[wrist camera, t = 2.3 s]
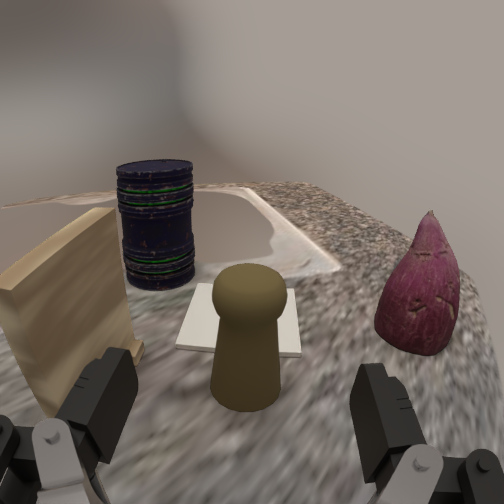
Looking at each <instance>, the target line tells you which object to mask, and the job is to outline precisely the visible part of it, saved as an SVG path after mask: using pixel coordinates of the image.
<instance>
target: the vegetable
mask: <svg viewBox="0 0 504 504" xmlns="http://www.w3.org/2000/svg"><path fill="white" fill-rule="evenodd" d="M459 294H460V275H459V268H458V264H457V260H456V258H455V256H454V253H453V251H452V249H451V247H450V245H449V243H448V241H447V239H446V237H445V235H444V233H443V230H442V228H441V226H440V224H439V222H438V220H437V219H436V218H435V217H434V214H433V211H432V210H429V211H428V213H427V214H426V215H425V216H424V217H423V219H422V220H421V222H420V224H419V226H418V229H417V232H416V234H415V238H414V240H413V242H412V244H411V246H410V248H409V250H408V252H407V253H406V254H405V256H404V257H403V259H402V260H401V261H400V263H399V264H398V265H397V267H396V268H395V270H394V271H393V272H392V274H391V275H390V277H389V279H388V280H387V282H386V284H385V287H384V289H383V292H382V295H381V297H380V300H379V303H378V307H377V311H376V314H375V319H374V324H375V330H376V331H377V333H378V334H379V335H380V336H381V337H382V338H383V339H385V340H386V341H387V342H389V343H390V344H392V345H393V346H395V347H397V348H398V349H401V350H403V351H406V352H411V353H415V354H419V355H427V356H428V355H435V354H437V353H438V352H440V351H441V350H442V349H443V348H445V347H446V346H447V344H448V342H449V340H450V338H451V335H452V332H453V329H454V326H455V323H456V320H457V316H458V310H459Z"/></svg>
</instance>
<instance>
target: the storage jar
mask: <svg viewBox="0 0 504 504" xmlns="http://www.w3.org/2000/svg"><path fill="white" fill-rule="evenodd" d="M192 170H193V163H192V162H190V161H185V160H175V159H162V160H161V159H159V160H145V161H138V162H132V163H127V164H123V165H121V166H118V167H117V168H116V174H117V176H118V179H117V186H118V188H117V198H118V208H119V212H120V213H121V218H122V228H123V240H122V245H123V246H122V247H123V259H124V263H125V267H126V270H127V272H126V273H127V280H128V282H129V283H130V284H131V285H133V286H134V287H137V288H139V289H143V290H149V291H163V290H170V289H174V288H177V287H180V286H182V285H184V284H186V283H188V282H189V281H190V280H191V279H192V278H193V277H194V274H195V268H194V257H195V248H194V236H193V233H192V228H191V227H192V226H191V208H192V207H193V201H194V200H193V192H194V191H193V190H194V189H193V182H192V181H193V175H192Z"/></svg>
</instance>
